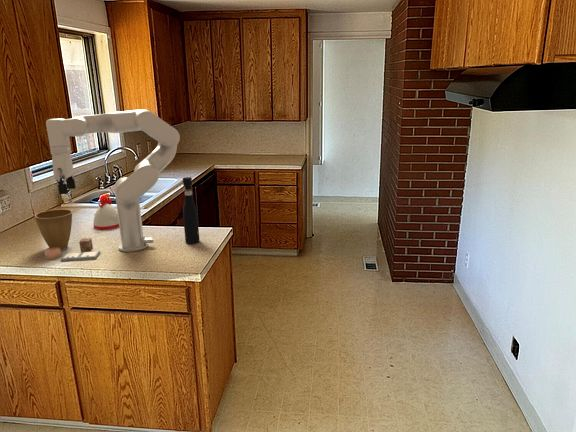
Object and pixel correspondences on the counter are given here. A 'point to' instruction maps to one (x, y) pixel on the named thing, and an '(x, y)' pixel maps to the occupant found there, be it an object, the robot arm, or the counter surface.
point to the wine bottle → (190, 214)
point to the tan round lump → (52, 253)
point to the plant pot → (55, 227)
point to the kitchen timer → (106, 216)
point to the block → (86, 245)
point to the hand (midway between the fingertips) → (67, 191)
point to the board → (80, 256)
